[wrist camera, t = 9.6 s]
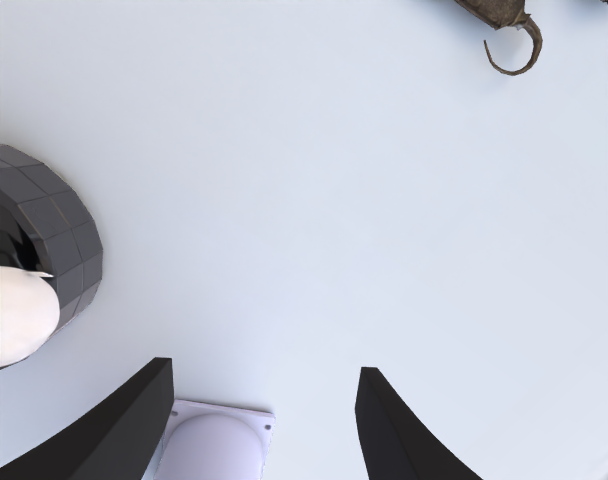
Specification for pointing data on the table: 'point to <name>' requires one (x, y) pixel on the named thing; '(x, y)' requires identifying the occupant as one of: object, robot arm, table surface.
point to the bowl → (51, 231)
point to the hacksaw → (507, 23)
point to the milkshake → (23, 303)
